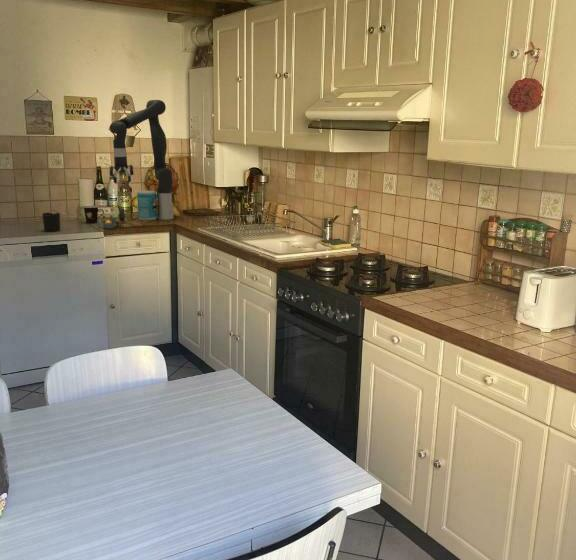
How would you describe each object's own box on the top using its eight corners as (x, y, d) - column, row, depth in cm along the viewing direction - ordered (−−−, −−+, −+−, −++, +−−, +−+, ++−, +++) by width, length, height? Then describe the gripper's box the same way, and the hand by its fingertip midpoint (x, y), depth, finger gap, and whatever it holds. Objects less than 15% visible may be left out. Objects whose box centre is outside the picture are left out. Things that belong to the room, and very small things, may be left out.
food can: (136, 218, 409) (135, 190, 405) (154, 217, 414) (153, 190, 410) (140, 221, 399) (139, 192, 394) (159, 219, 404) (158, 192, 400)
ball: (107, 218, 376) (102, 223, 375) (109, 219, 373) (105, 224, 372) (112, 223, 378) (107, 227, 377) (114, 224, 375) (109, 228, 374)
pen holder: (55, 228, 367) (54, 211, 364) (64, 230, 361) (62, 213, 359) (40, 230, 360) (39, 213, 357) (49, 232, 354) (47, 215, 352)
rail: (138, 223, 390) (138, 220, 389) (143, 225, 384) (143, 222, 383) (116, 225, 382) (116, 222, 382) (121, 226, 376) (121, 224, 375)
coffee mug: (81, 223, 388) (80, 207, 385) (91, 221, 395) (90, 205, 392) (95, 224, 382) (94, 208, 380) (105, 222, 390) (104, 206, 387)
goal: (108, 225, 380) (108, 220, 379) (114, 227, 372) (114, 222, 371) (97, 226, 376) (97, 221, 376) (103, 228, 368) (103, 223, 368)
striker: (125, 224, 384) (124, 208, 381) (128, 225, 379) (128, 209, 377) (111, 225, 379) (110, 209, 376) (114, 226, 374) (113, 210, 372)
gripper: (129, 155, 382) (131, 181, 386) (106, 156, 374) (108, 183, 378) (133, 155, 376) (135, 182, 380) (111, 156, 368) (113, 184, 372)
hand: (122, 182), depth 379 cm, fingers open, 8 cm apart
